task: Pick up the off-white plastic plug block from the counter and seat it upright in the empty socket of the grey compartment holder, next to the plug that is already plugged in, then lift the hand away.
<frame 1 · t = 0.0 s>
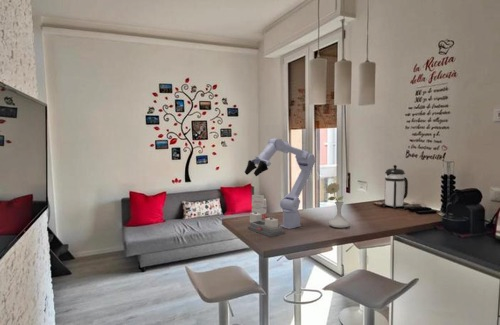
hand: (250, 174, 164), 32 cm above the breakfast bar, tool tilted 50°, fingers open, 7 cm apart
coffee press: (394, 207, 231), on the breakfast bar
flower in vase: (337, 226, 183), on the breakfast bar
plug: (255, 223, 190), on the breakfast bar
ink cartridge box: (259, 217, 205), on the breakfast bar
grey compartment holder: (265, 231, 175), on the breakfast bar
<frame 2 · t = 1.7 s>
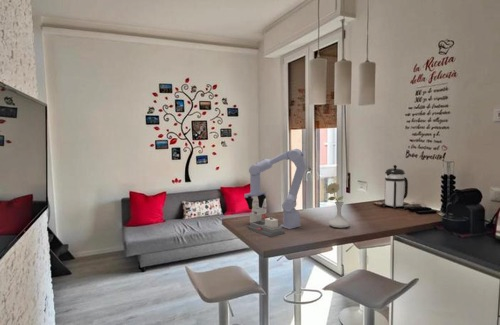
hand: (255, 208, 190), 9 cm above the breakfast bar, tool pointing down, fingers open, 7 cm apart
nothing on the breakfast bar moved.
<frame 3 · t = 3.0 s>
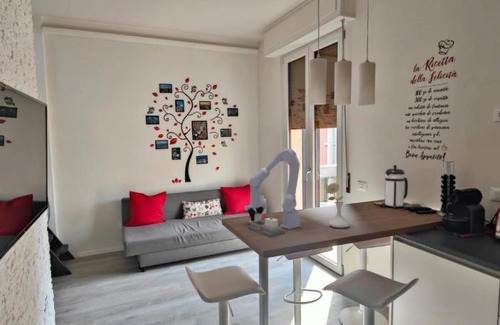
hand: (255, 220, 190), 2 cm above the breakfast bar, tool pointing down, fingers closed on plug, 4 cm apart
plug: (255, 223, 190), on the breakfast bar, touching gripper
everything else where it was.
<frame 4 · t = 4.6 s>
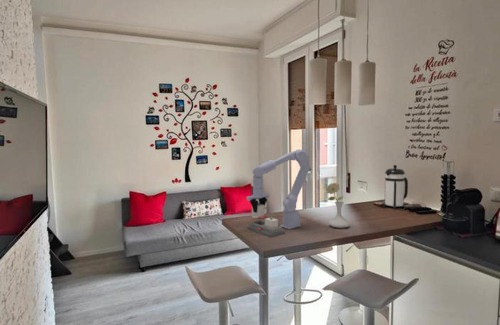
hand: (258, 211, 183), 9 cm above the breakfast bar, tool pointing down, fingers closed on plug, 4 cm apart
plug: (258, 215, 183), point 7 cm above the breakfast bar, touching gripper
everything else where it was.
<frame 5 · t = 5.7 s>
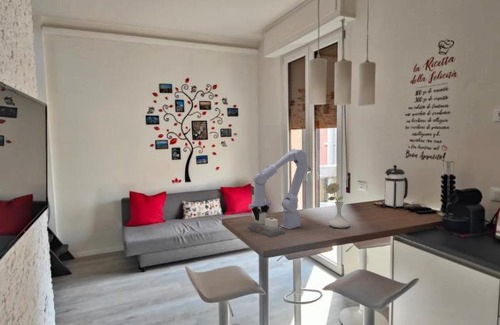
hand: (260, 219, 179), 5 cm above the breakfast bar, tool pointing down, fingers closed on plug, 4 cm apart
plug: (260, 223, 179), point 3 cm above the breakfast bar, touching gripper
everything else where it was.
when the fingers open (4 cm above the breakfast bar, at t = 6.4 s): plug stays where it is, resting on grey compartment holder.
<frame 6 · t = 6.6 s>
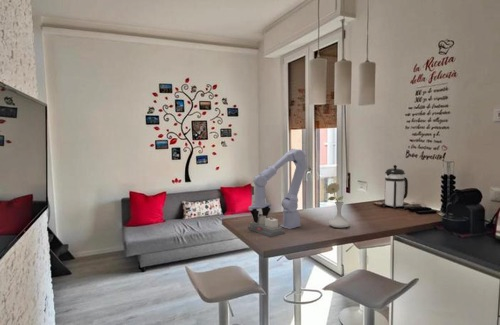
hand: (260, 221, 179), 4 cm above the breakfast bar, tool pointing down, fingers open, 6 cm apart
plug: (260, 226, 179), point 1 cm above the breakfast bar, touching grey compartment holder
everything else where it was.
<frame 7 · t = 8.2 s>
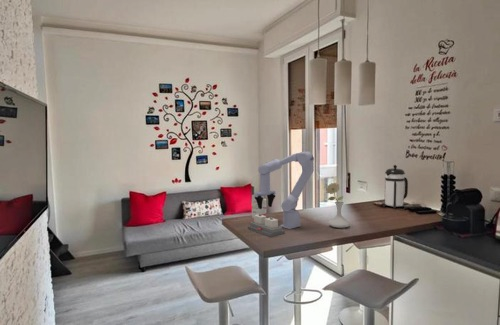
hand: (265, 207, 190), 9 cm above the breakfast bar, tool pointing down, fingers open, 7 cm apart
nothing on the breakfast bar moved.
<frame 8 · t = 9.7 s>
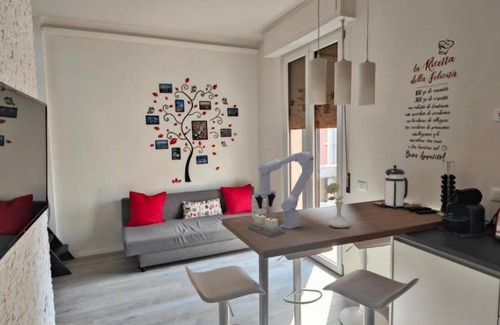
hand: (265, 207, 190), 9 cm above the breakfast bar, tool pointing down, fingers open, 7 cm apart
nothing on the breakfast bar moved.
at the end: plug 0.2 cm from the target spot on the grey compartment holder, point 1.5 cm above the grey compartment holder's base; plug tilted 0°; the gripper is holding nothing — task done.
